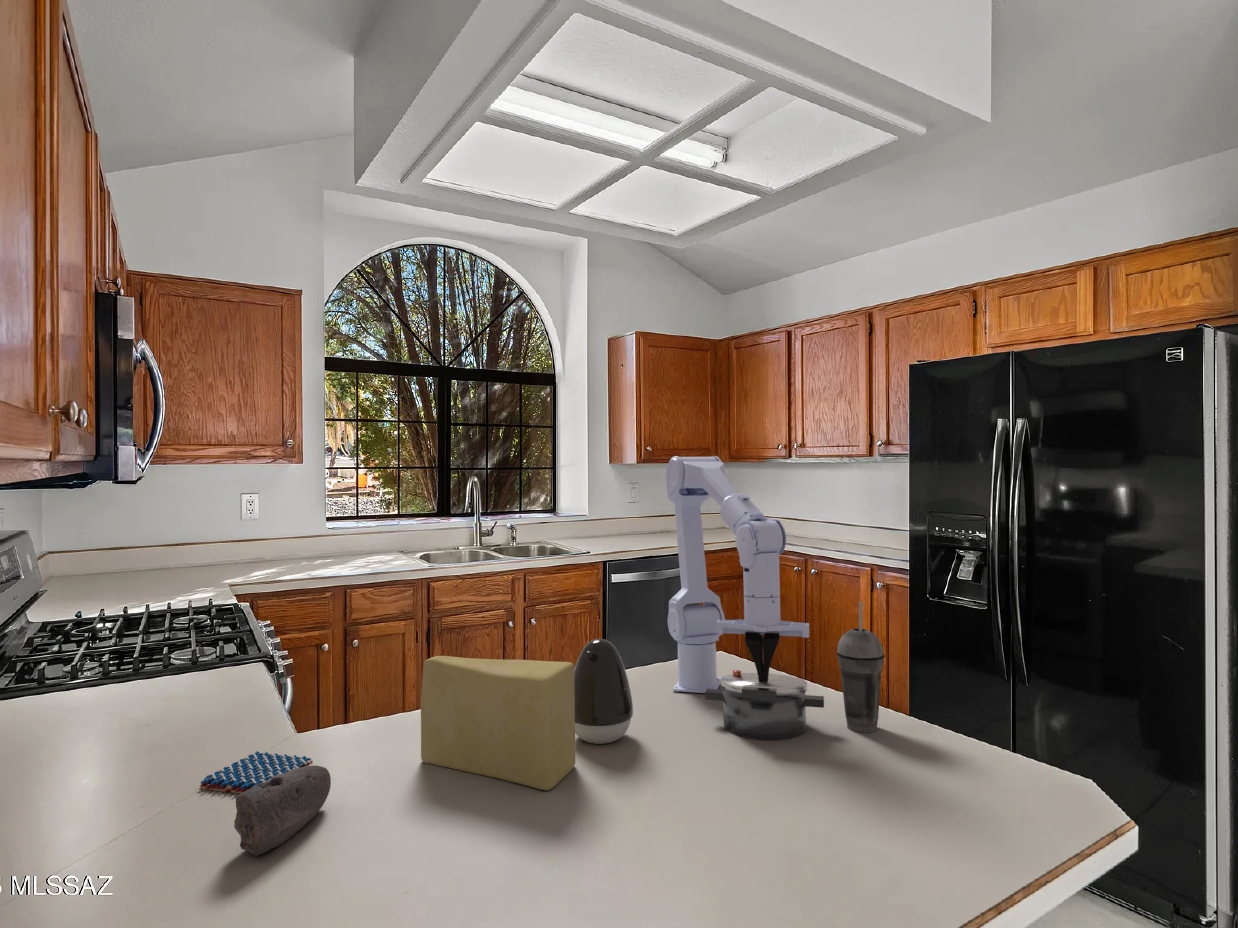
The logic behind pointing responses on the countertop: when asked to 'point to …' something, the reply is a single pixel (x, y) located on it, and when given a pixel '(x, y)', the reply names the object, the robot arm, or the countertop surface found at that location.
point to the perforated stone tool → (280, 807)
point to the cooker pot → (764, 714)
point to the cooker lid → (763, 685)
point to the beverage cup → (861, 677)
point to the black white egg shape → (601, 694)
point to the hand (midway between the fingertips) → (763, 680)
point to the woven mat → (252, 772)
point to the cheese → (500, 718)
